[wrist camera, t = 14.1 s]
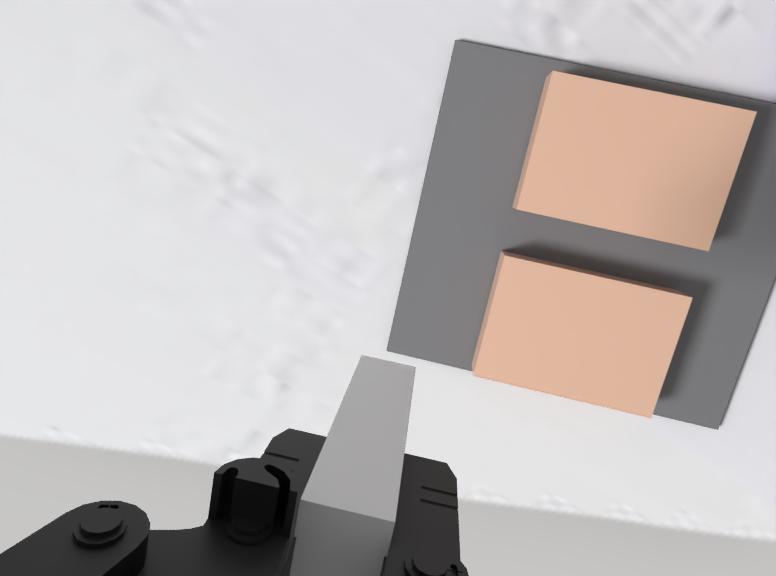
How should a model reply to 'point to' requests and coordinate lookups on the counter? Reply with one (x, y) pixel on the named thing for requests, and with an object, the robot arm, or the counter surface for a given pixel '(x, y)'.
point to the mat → (577, 231)
